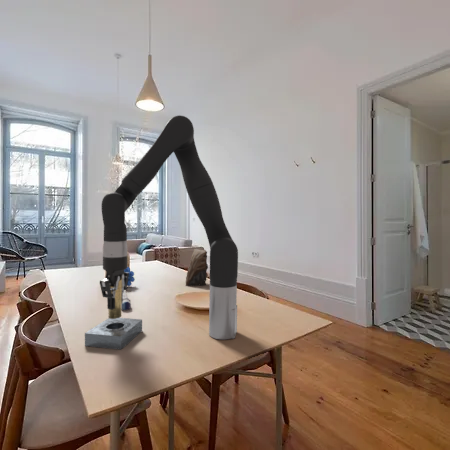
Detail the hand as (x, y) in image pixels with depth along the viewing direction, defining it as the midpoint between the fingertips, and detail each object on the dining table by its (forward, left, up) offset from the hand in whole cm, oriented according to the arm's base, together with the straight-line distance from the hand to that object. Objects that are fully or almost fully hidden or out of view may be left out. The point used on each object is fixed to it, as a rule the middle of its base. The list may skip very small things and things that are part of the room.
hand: (115, 306), depth 93 cm
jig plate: (0, 0, -10) cm, 10 cm away
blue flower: (+29, -58, -11) cm, 66 cm away
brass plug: (0, 0, -3) cm, 3 cm away
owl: (-6, -75, -11) cm, 76 cm away
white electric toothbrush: (+17, -36, -11) cm, 41 cm away
